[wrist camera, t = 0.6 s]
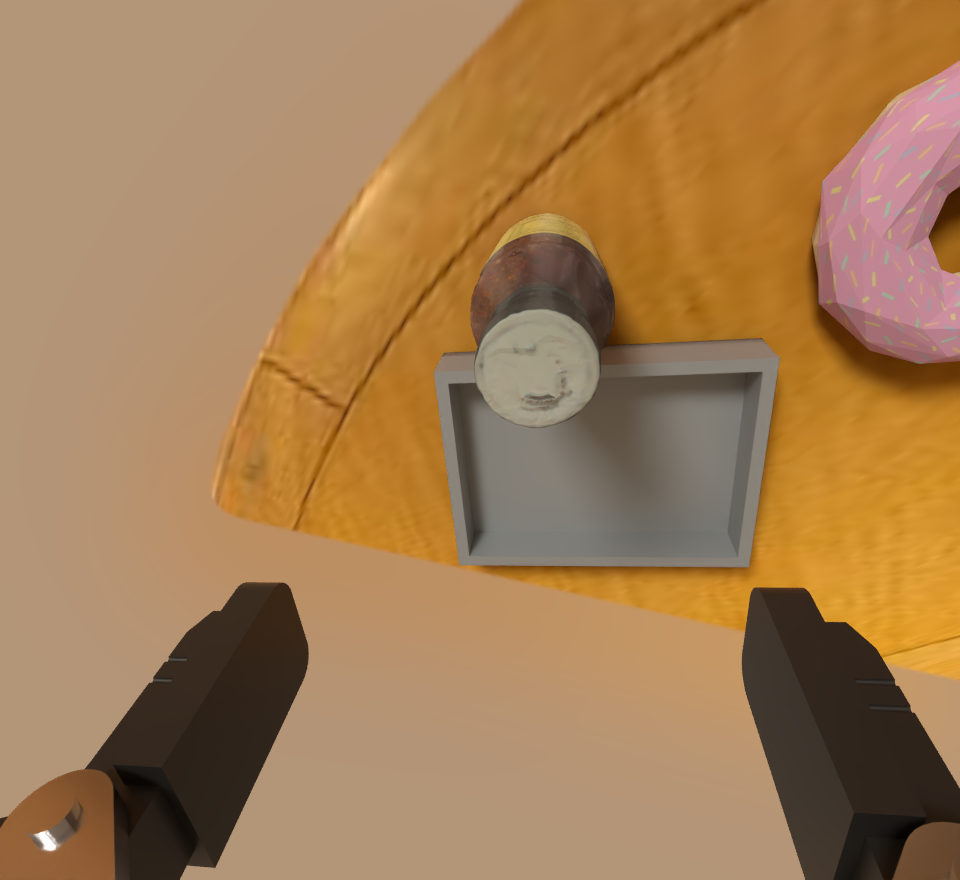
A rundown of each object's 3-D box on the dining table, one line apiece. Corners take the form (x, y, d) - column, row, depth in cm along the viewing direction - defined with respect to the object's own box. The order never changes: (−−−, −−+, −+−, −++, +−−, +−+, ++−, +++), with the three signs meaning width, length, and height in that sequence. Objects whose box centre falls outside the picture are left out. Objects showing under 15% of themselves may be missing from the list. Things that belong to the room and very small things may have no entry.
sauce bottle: (568, 329, 38) (573, 503, 21) (478, 289, 38) (406, 431, 20) (618, 231, 35) (675, 337, 18) (521, 185, 35) (481, 247, 17)
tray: (761, 338, 37) (779, 357, 34) (735, 536, 44) (748, 567, 41) (443, 353, 40) (433, 372, 37) (466, 536, 47) (459, 565, 44)
